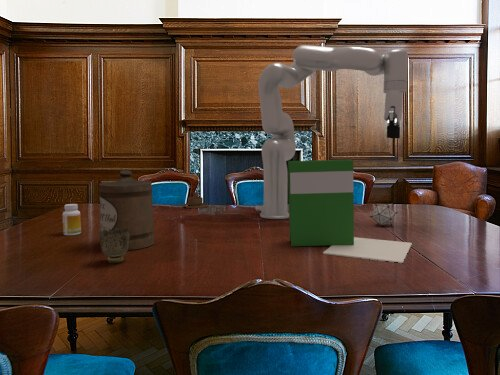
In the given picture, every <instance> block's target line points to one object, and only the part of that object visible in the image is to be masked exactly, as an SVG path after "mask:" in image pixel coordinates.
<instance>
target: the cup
mask: <svg viewBox="0 0 500 375" xmlns="http://www.w3.org/2000/svg"><path fill="white" fill-rule="evenodd" d="M98 238H99V239H98V240H99V243H100V249H101V252H102V254H103V255H104V256H106V257H107V262H109V264H117V263H118V264H119V263H122V262H123V260H124V255H126V253H128V251H129V250H128V247H129V238H130V230H129V229H128V228H127V229H126V230H125V229H124V228H123V229H122V231H121V229H120V228H118V229H116V228H114V229H113V231H111V229H110V228H109V230H108V231H107V230H105V229H103V230H102V231H101V230H99V231H98Z"/></svg>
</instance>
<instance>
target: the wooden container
mask: <svg viewBox="0 0 500 375" xmlns="http://www.w3.org/2000/svg"><path fill="white" fill-rule="evenodd" d="M132 175H133V173H132V171H131V170H129V169H125V168H124V169H121V171H119V176H120V177H119V178H118V179H117V180H116V181H108V182H106V181H105V182H101V183H99V184H98V191H99V217H100V218H99V220H100V221H99V223H100V225H99V226H100V231H102V230H103V229H105V230H107V231H108V230H109V228H110V229H111V231H113V229H114V228H116V229H118V228H120V229H121V231H122V229H123V228H124V229H125V230H126V229H127V228H128V229H129V230H130V238H129V247H128V250H127V251H134V250H135V251H136V250H143V249H146V248H148V247H151V246H153V245H154V244H155V228H154V227H155V226H154V225H155V221H154V209H153V208H154V207H153V206H154V205H153V204H154V203H153V190H152V189H153V184H152V181H144V180H142V181H141V180H135V179H133V178H132Z"/></svg>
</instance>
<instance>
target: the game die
mask: <svg viewBox="0 0 500 375" xmlns="http://www.w3.org/2000/svg"><path fill="white" fill-rule="evenodd" d="M374 205H375V208H374V211H373V213H372V215H370V216H369V218H373V220H375V221H376V223H377V224H378V225H379V227H382V226H383V225H384V226H385V225H386V226H387V225H390V226H391V227H392V226H393V224H392V222H393V221H394V219H395V216H396V214H397V215H398V213H399V212H397V211H394V209H392V208H391V207H390V205H389V204H388V202H387V203H386V204H381V205H380V204H379V205H378V204H377V203H374Z"/></svg>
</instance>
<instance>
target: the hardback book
mask: <svg viewBox="0 0 500 375" xmlns="http://www.w3.org/2000/svg"><path fill="white" fill-rule="evenodd" d="M287 178H288V182H287V183H288V213H289V218H288V221H289V227H288V228H289V242H291V243H290V244H291V245H290V246H291V247H313V246H317V247H319V246H320V247H321V246H332V245H354V237H355V234H354V232H355V230H354V229H355V228H354V227H355V226H354V225H355V224H354V222H355V220H354V218H355V216H354V215H355V214H354V213H355V212H354V208H355V207H354V206H355V205H354V201H355V200H354V160H353V159H328V160H327V159H326V160H325V159H323V160H322V159H321V160H319V159H318V160H288V161H287Z"/></svg>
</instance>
